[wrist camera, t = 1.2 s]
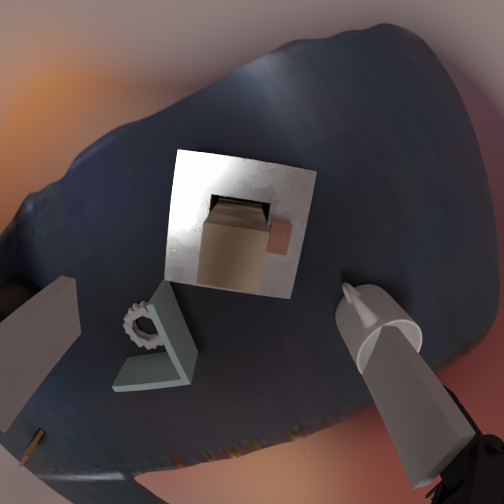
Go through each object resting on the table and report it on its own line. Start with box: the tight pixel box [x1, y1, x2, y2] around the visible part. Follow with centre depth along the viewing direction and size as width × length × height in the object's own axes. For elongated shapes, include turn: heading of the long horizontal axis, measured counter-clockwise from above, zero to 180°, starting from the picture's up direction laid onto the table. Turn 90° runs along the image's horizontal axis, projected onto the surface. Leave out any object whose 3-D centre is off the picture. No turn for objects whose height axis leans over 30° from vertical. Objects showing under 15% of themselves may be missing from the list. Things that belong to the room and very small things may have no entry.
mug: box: [335, 283, 422, 374], centre depth 35 cm, size 9×12×11 cm
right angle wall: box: [112, 280, 198, 392], centre depth 37 cm, size 12×12×8 cm
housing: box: [164, 150, 317, 299], centre depth 32 cm, size 14×14×8 cm
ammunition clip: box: [20, 428, 45, 467], centre depth 46 cm, size 11×2×12 cm, turn 136°
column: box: [196, 196, 269, 293], centre depth 28 cm, size 5×5×16 cm
